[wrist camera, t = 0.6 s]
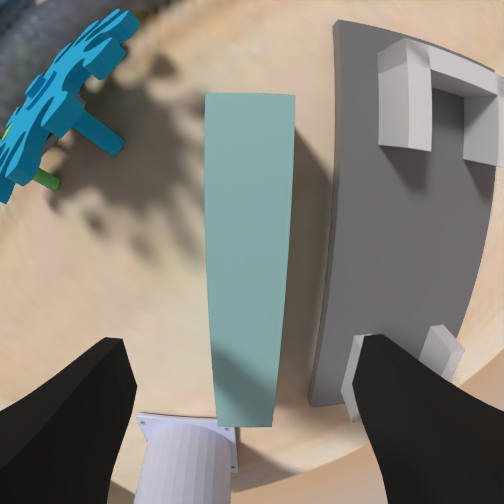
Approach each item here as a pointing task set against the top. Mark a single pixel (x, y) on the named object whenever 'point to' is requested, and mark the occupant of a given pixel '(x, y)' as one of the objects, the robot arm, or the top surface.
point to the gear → (63, 104)
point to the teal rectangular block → (247, 247)
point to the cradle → (404, 201)
